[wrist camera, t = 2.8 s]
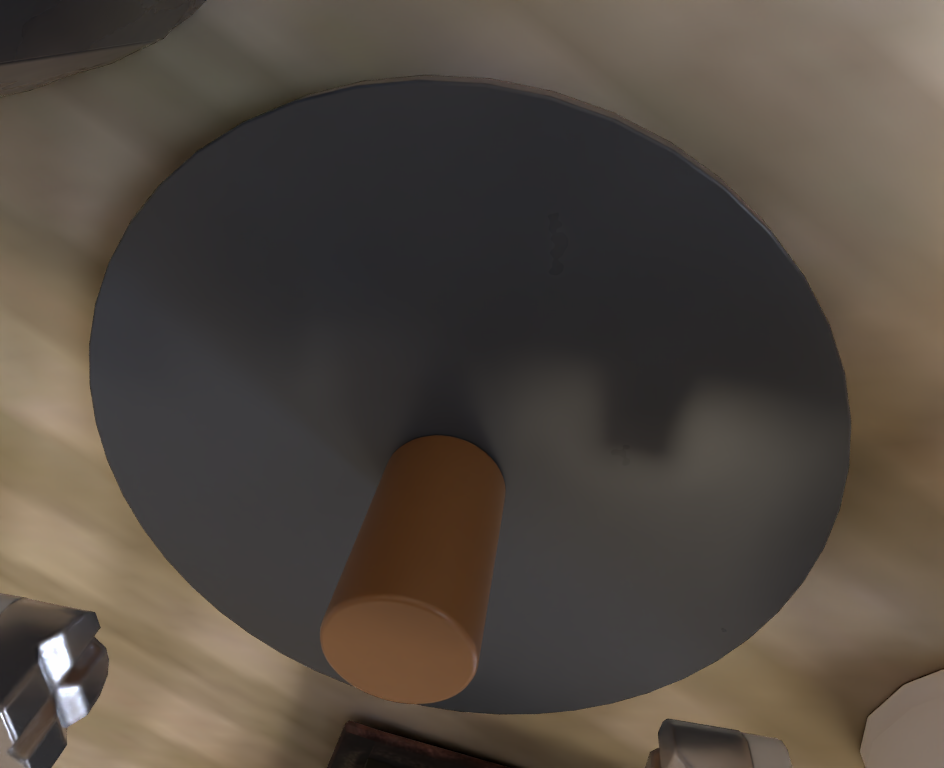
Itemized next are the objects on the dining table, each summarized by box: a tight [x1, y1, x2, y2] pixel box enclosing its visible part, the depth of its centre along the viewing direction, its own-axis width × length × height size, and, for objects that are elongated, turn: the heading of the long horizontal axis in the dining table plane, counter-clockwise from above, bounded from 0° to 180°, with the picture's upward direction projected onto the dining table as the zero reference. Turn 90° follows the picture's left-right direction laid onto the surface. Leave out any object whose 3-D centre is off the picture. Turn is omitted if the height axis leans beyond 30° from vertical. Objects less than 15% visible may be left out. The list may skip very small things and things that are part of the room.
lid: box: [89, 75, 851, 714], centre depth 12 cm, size 15×15×5 cm
